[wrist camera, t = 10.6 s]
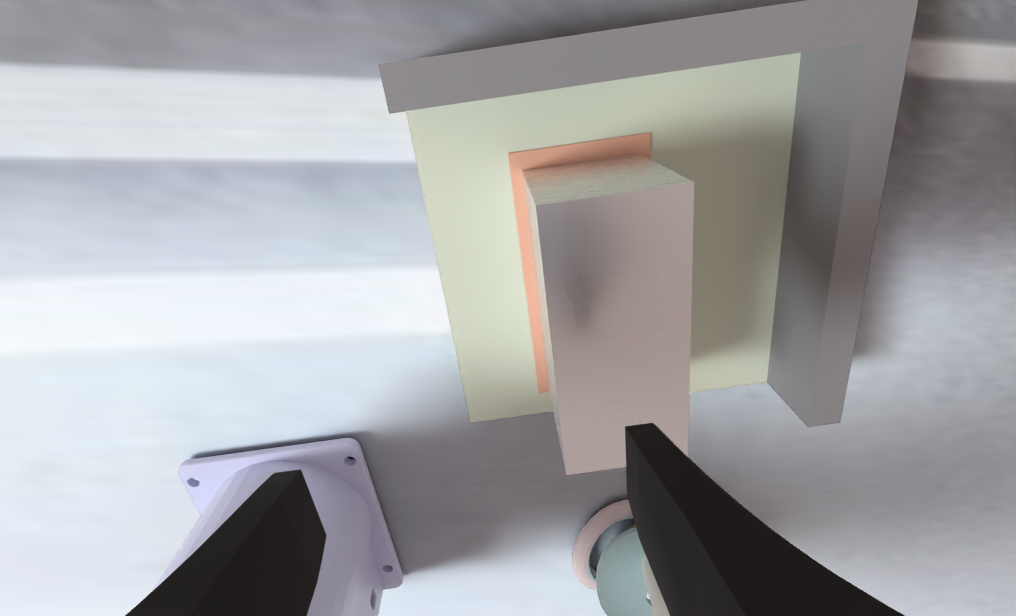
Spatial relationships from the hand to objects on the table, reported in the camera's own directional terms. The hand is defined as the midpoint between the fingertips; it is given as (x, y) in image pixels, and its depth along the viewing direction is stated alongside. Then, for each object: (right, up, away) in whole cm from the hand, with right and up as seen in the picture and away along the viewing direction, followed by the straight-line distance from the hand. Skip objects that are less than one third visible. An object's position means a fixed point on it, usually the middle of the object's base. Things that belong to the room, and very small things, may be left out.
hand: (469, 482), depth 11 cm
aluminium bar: (+4, +5, +8) cm, 10 cm away
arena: (+5, +6, +8) cm, 11 cm away
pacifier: (+7, -8, +15) cm, 18 cm away
